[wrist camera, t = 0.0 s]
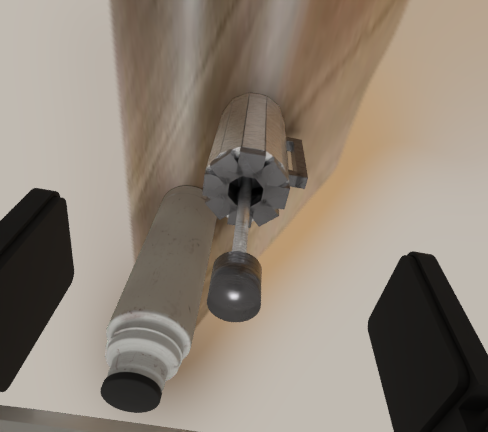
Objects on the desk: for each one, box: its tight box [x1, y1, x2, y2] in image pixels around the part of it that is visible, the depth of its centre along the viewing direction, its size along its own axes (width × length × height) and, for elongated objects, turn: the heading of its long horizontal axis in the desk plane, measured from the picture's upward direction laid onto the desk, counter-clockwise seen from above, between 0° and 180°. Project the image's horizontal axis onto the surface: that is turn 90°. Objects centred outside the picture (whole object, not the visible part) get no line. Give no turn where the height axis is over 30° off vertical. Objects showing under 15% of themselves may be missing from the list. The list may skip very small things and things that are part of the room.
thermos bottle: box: [101, 186, 217, 413], centre depth 43 cm, size 8×8×28 cm
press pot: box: [202, 93, 308, 228], centre depth 40 cm, size 8×10×16 cm
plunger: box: [207, 176, 262, 322], centre depth 30 cm, size 5×5×18 cm
